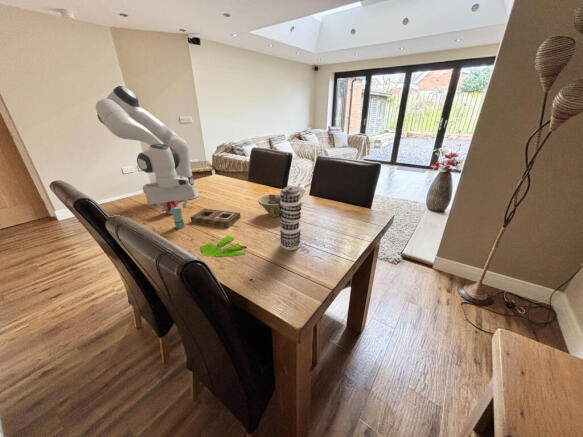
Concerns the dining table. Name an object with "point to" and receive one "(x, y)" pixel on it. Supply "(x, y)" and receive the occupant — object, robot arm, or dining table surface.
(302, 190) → the spinning top
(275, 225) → the dining table surface
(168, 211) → the soda can
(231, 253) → the green glove
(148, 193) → the robot arm
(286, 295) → the dining table surface
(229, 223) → the board
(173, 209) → the peg
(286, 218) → the decorative candle
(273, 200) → the bowl
